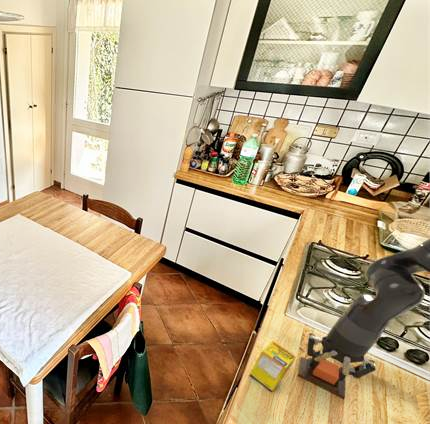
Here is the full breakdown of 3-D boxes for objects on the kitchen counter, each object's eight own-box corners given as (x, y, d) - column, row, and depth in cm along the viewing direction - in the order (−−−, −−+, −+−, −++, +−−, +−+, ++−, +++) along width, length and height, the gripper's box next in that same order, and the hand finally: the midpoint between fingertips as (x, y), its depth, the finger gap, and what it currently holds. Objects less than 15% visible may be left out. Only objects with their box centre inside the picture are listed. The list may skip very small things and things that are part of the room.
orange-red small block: (334, 372, 84) (339, 365, 83) (333, 385, 81) (338, 378, 80) (313, 362, 87) (318, 356, 85) (312, 374, 84) (317, 368, 82)
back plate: (343, 379, 85) (347, 375, 84) (343, 399, 80) (347, 395, 79) (300, 358, 90) (302, 354, 89) (297, 375, 86) (300, 371, 84)
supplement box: (281, 380, 84) (297, 356, 79) (271, 393, 81) (286, 368, 76) (259, 363, 89) (272, 339, 83) (248, 375, 86) (262, 350, 80)
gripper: (393, 338, 74) (357, 378, 83) (319, 308, 82) (294, 348, 91) (396, 360, 69) (358, 401, 78) (318, 326, 77) (291, 367, 86)
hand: (323, 372), depth 84 cm, fingers closed on orange-red small block, 4 cm apart
